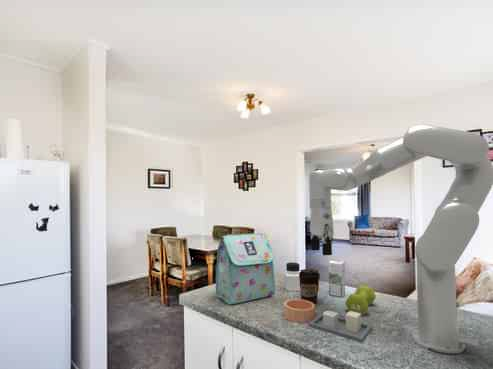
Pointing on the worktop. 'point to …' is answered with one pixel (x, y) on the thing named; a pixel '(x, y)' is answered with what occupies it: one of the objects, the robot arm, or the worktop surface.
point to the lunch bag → (244, 268)
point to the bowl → (299, 310)
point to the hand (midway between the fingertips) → (321, 252)
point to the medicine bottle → (292, 277)
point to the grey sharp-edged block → (330, 319)
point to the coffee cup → (309, 285)
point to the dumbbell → (361, 299)
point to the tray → (342, 329)
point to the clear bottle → (337, 278)
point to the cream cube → (353, 321)
